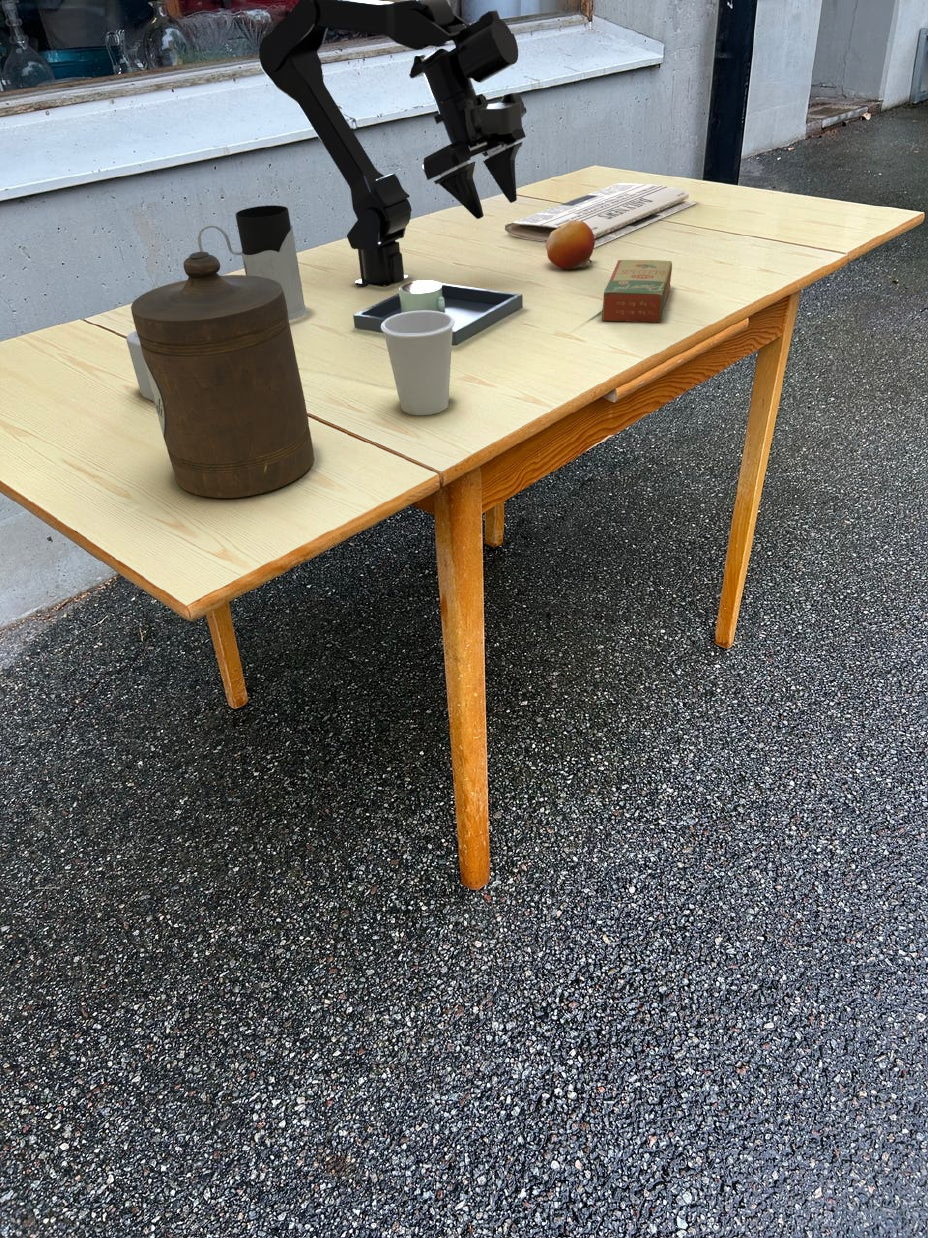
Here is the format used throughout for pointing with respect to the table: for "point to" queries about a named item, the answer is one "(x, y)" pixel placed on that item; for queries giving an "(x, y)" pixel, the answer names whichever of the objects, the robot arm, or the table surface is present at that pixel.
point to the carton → (637, 291)
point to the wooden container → (225, 381)
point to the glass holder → (269, 251)
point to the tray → (451, 310)
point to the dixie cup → (420, 359)
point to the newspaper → (606, 212)
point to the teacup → (421, 296)
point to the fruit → (571, 245)
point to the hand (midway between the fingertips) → (497, 209)
